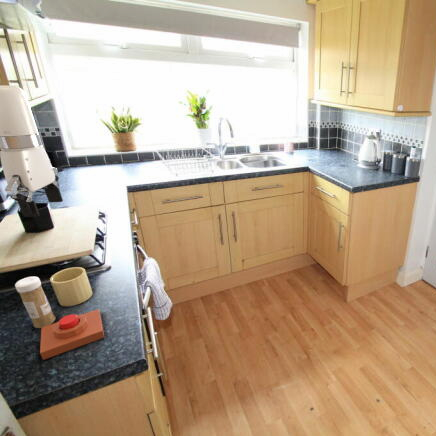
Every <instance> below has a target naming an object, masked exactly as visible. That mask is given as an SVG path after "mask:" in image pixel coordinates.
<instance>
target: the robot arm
mask: <svg viewBox="0 0 436 436" xmlns="http://www.w3.org/2000/svg"><path fill="white" fill-rule="evenodd" d="M30 105H31V104H30V103H29V100H28V96H27V94H26V91H25V90H24V89H23V88H22V87H20V86H16V85H6V84H5V85H4V84H3V85H0V163H1V167H2V171H3V175H4V177H5V180H6V184H7V185H6V186H5V188H4V191H5V192H6V194H7V195H8V196H10V199H11V200H14V202H15V203H18V206H19V208H20V211H21V213H22V214H21V215H22V216H23V217H24V218H36V217H37V218H38V217H40V212H39V209H38V206H37V203H36V201H35V200H33V195H34V192H36V191H39V190H40V189H43V188H44V192H45V196H46V198H47V201H48V203H62V202H63V201H64V199H63V197H62V193H61V190H60V183H59V179H60V177H59V170H58V168H57V167H53V165H52V163H51V159H50V158H49V155H48V153H47V152H46V150H45V147H44V145H43V141H42V138H41V136H40V133H39V130H38V127H37V124H36V123H37V122H36V121H35V118H34V114H33V112H32V109H31V106H30ZM24 194H25V195H24Z"/></svg>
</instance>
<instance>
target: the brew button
mask: <svg viewBox="0 0 436 436" xmlns="http://www.w3.org/2000/svg"><path fill="white" fill-rule="evenodd" d="M77 315H78V314H74V313H72V314H67V315H65V316H63V317H61V318H60V320H58V322H59V325H60V327H61V329H63V330H67V329H70V328H73V327H75V326H76V325H78V323H79V320H78V318H77Z"/></svg>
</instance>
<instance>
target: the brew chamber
mask: <svg viewBox="0 0 436 436" xmlns="http://www.w3.org/2000/svg"><path fill="white" fill-rule="evenodd" d="M49 281H50V285H51V286H52V289H53V291H54V294H55V297H56V300H57V302H58V304H59V305H60V306H62V307H73V306H77V305H80V304H82V303H84V302H86V301H88V300H89V299H90V298H91V297H92V296H93V289H92V286H91V283H90V280H89V277H88V273H87V271H86V269H85V268H84V267H81V266H75V267H68V268H65V269H62V270H60V271H57V272H55V273H54V274H53V275H51V277H50V278H49Z"/></svg>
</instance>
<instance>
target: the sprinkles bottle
mask: <svg viewBox="0 0 436 436" xmlns="http://www.w3.org/2000/svg"><path fill="white" fill-rule="evenodd" d="M14 287H15V290H16V292H17V293H18V294H19V296H20V298H21V300H22V303H23V305H24V307H25V310H26V312H27V314H28V316H29V318H30V320H31V321H32V324H33V327H34V328H35V329H41V328H42V327H45V326H48V325H51V324H54V323H55V321H56V316H55V315H54V312H53V310H52V307H51V306H50V302H49V300H48V298H47V296H46V294H45V291H44V290H43V287H42V282H41V279H40V278H39V277H38V276H27V277H24V278H22V279H19V280H17V281H16V283H15V284H14Z"/></svg>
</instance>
